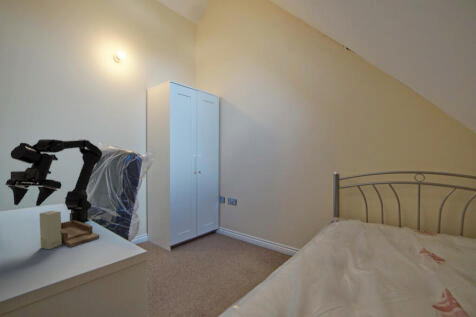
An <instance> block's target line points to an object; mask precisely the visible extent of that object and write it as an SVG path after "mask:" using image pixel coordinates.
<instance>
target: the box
mask: <svg viewBox="0 0 476 317" xmlns="http://www.w3.org/2000/svg"><path fill="white" fill-rule="evenodd" d="M61 214H62V213H61V211H59V210H50V211H44V212H41V213H39V228H40V229H39V232H40V233H39V236H40V239H39V240H40V248H41V249H45V250H52V249H55V248H58V247H60V246H62V244H63V243H62V238H61V223H62V215H61Z"/></svg>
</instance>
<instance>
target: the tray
mask: <svg viewBox="0 0 476 317" xmlns="http://www.w3.org/2000/svg"><path fill="white" fill-rule="evenodd" d="M61 238H62V244H64V245H66V246H67V247H70V248H72V247H75V246H79V245H81V244H85V243H87V242H91V241H94V240H97V239H99V238H100V234H98V233H95V232H93V225H91V224H87V223H84V222H79V221H76V220H71V221H70V220H68V221H63V222H61Z"/></svg>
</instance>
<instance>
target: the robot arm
mask: <svg viewBox="0 0 476 317" xmlns="http://www.w3.org/2000/svg"><path fill="white" fill-rule="evenodd" d="M67 149H79V152H80V153H81V154H82V156H81V159H82V161H83V164H82V166H81V170H80V173H79V175H78V178H77V181H76V183H75V186H74V188H73V190H71V191H70V190H68V191H67V193H66V197H65V198H64V204H65V205H66V208H67V211H70V213H69V221H71V220H76V221H79V222H82V223H84V222H89V221H90V219H89V215H88V213H89V212H88V210H90V209H91V208H92V203H91V202H90V201H89V200H88V193H87V189H88V186H89V183H90V180H91V177H92V175H93V170H94V168H95V165H97V164H98V163H99V162H100V161H101V159H102V156H103V151H102V150H101V149H100V148H99V147H98V146H97V145H95V144H94V143H92V142H90V140H88V139H75V140H74V139H73V140H61V139H48V138H46V139H45V138H43V139H38V141H37V142H36V143H34V144H33V145H30V144H28V143H27V142H20V143H19V145H17V146H16V147H14V148H13V149H12V150H11V152H10V157H11V159H14V160H16V161H20V162H22V163H26V164H29V165H31V166H30V167H27V168H25V170H16V171H15V170H13V171H10V178H9V179H7V180H6V182H5V186H7V187H8V188H9V189H11V191H12V194H13V204H14V205H15V206H19V204H20V203H21V201H22V200H23V198H24V197H25V195H26V194H27V192H28V191H29V190H30V189H29V188H30V187H37V188H38V191H39V192H38V195H37V199H36V203H35V206H37V207H40V206H41V205H42V204H44V202H45V201H46V200H47V199H48V198H49V197H50V196H51V195H52V194H54V193H55V192H57V191H58V190H61V188H62V183H61V181H58V180H56V179H55V180H54V179H47V177H48V175H51V174H52V171H50V169H51V166H52V164H53V161H58V160H59V159H58V157H57V155H56V154H55V153H59V152H63V151H64V150H67ZM50 153H54V154H50Z"/></svg>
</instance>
